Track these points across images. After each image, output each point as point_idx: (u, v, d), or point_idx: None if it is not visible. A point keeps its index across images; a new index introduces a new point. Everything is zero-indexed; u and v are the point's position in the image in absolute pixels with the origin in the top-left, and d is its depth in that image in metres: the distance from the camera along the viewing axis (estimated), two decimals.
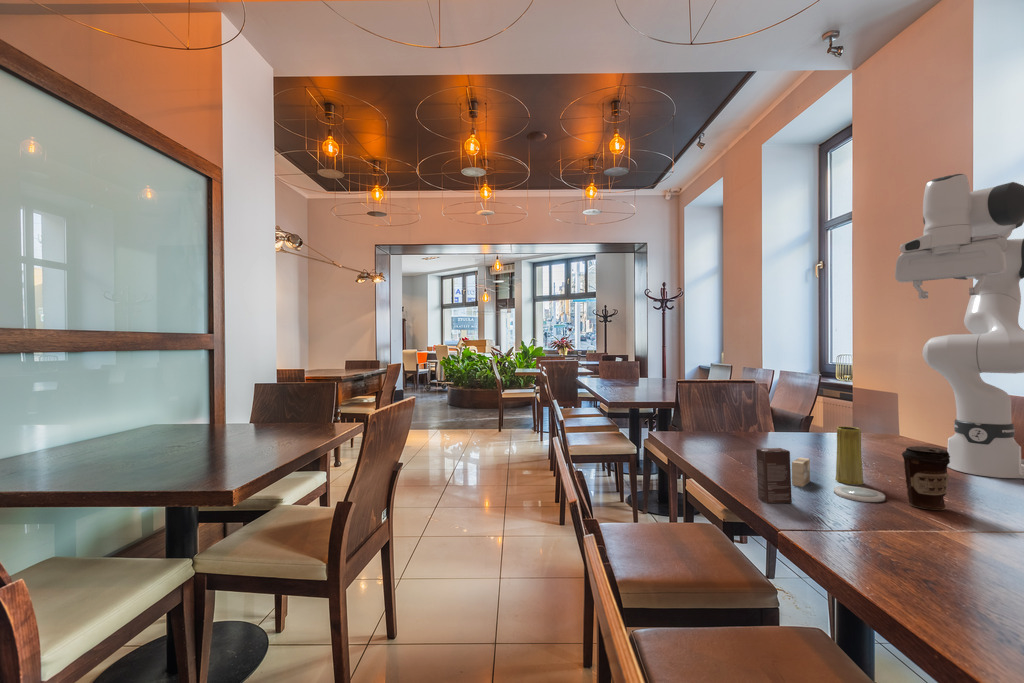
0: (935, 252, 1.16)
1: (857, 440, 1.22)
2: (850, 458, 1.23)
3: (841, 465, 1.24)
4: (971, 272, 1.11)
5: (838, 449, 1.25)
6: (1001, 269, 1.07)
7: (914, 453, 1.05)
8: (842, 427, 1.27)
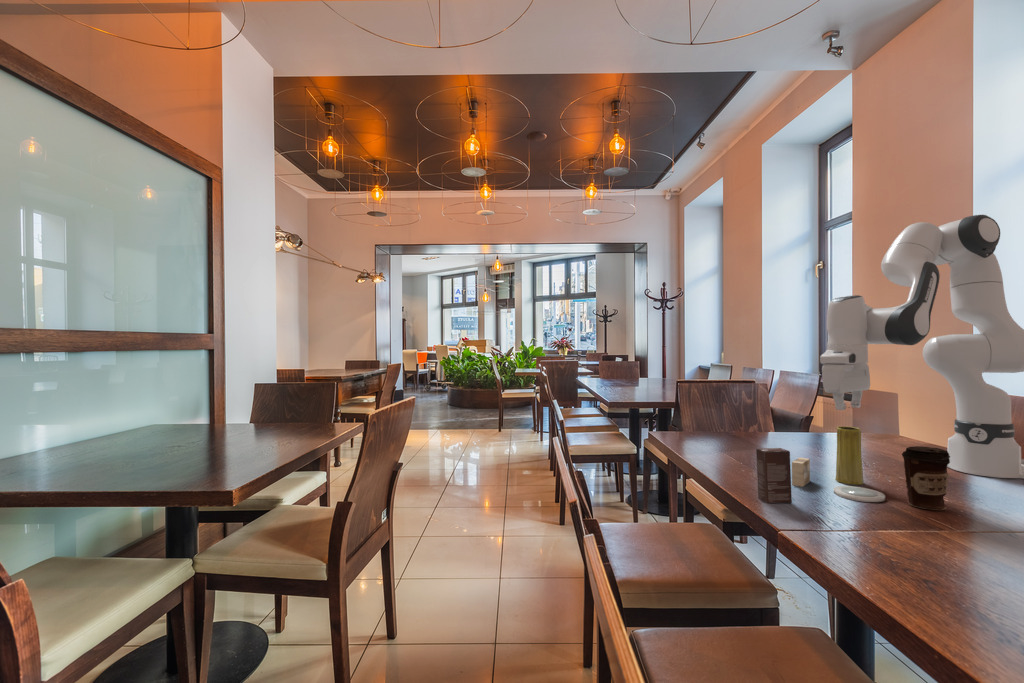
0: (856, 367, 1.22)
1: (857, 440, 1.22)
2: (850, 458, 1.23)
3: (841, 465, 1.24)
4: (862, 388, 1.26)
5: (838, 449, 1.25)
6: None
7: (914, 453, 1.05)
8: (842, 427, 1.27)
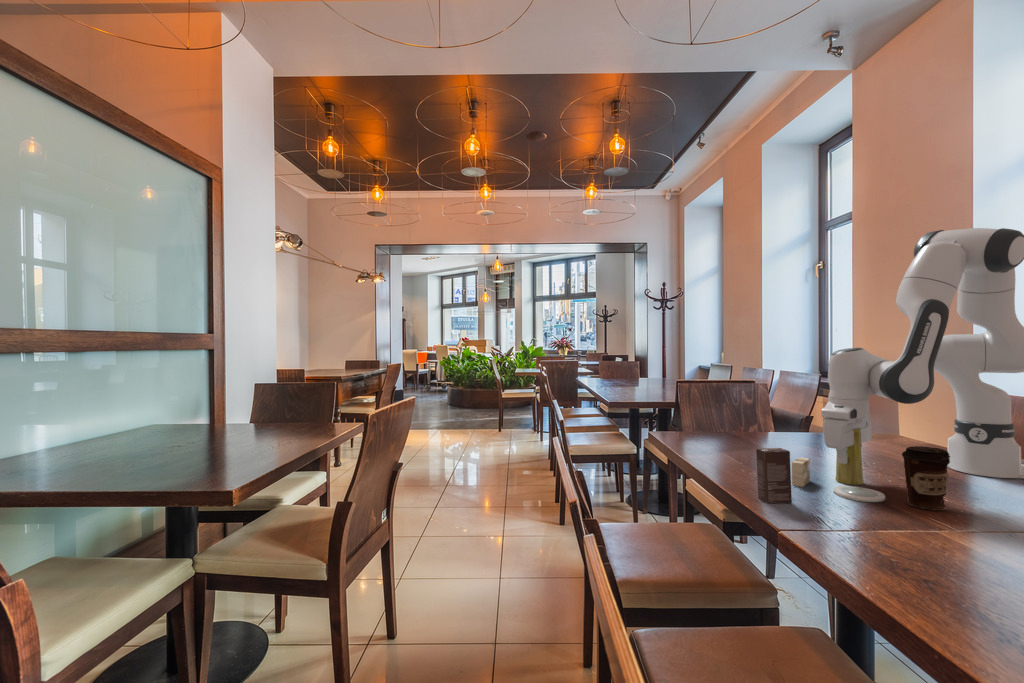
0: (858, 421, 1.22)
1: (857, 440, 1.22)
2: (850, 458, 1.23)
3: (841, 465, 1.24)
4: (863, 440, 1.26)
5: None
6: None
7: (914, 453, 1.05)
8: None
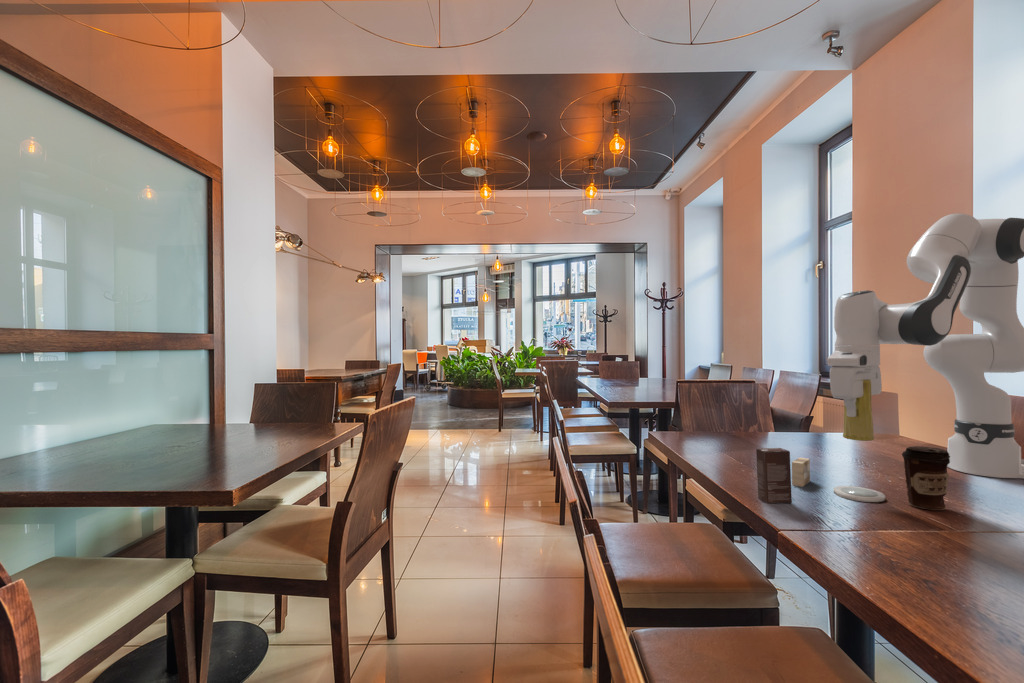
0: (867, 370, 1.11)
1: (867, 392, 1.11)
2: (859, 411, 1.12)
3: (849, 420, 1.13)
4: (873, 392, 1.15)
5: None
6: None
7: (914, 453, 1.05)
8: None
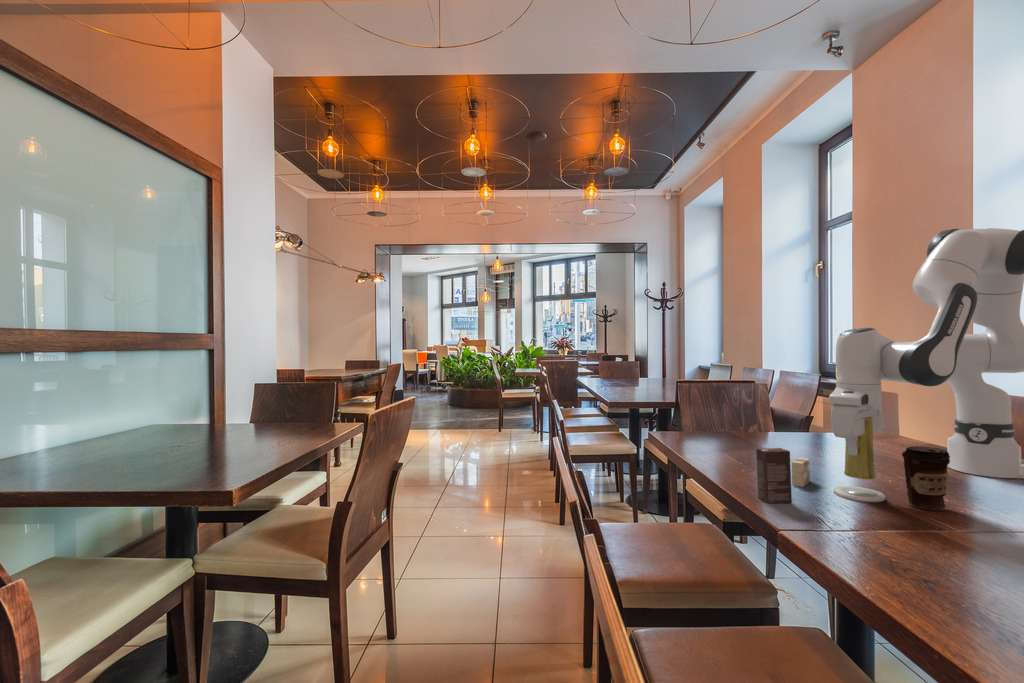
0: (869, 408, 1.11)
1: (868, 430, 1.11)
2: (861, 450, 1.11)
3: (850, 457, 1.13)
4: (875, 429, 1.15)
5: None
6: None
7: (914, 453, 1.05)
8: None
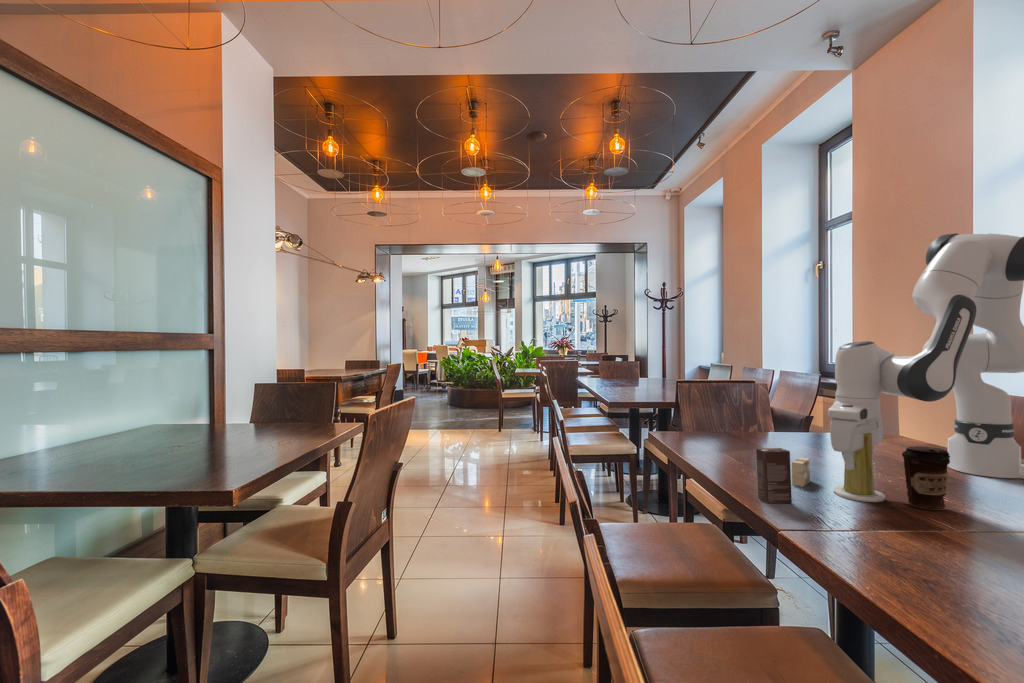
0: (868, 422, 1.11)
1: (868, 446, 1.11)
2: (860, 466, 1.12)
3: (849, 473, 1.13)
4: (874, 442, 1.15)
5: None
6: None
7: (914, 453, 1.05)
8: None
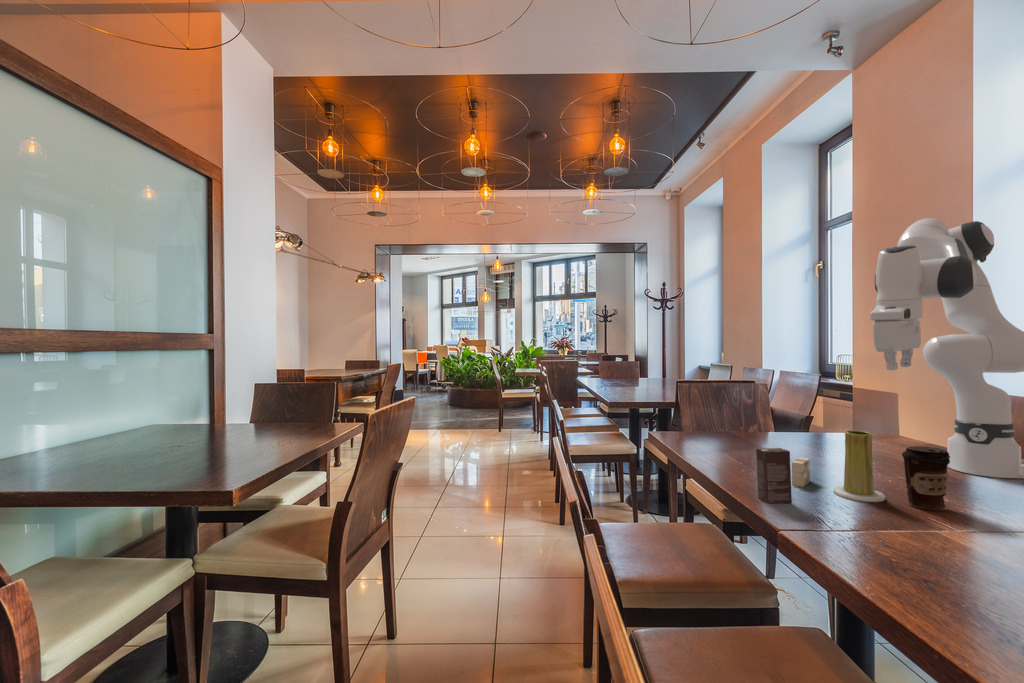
0: (910, 323, 1.13)
1: (868, 446, 1.11)
2: (860, 466, 1.12)
3: (849, 473, 1.13)
4: (914, 346, 1.17)
5: (846, 455, 1.14)
6: None
7: (914, 453, 1.05)
8: (851, 431, 1.16)
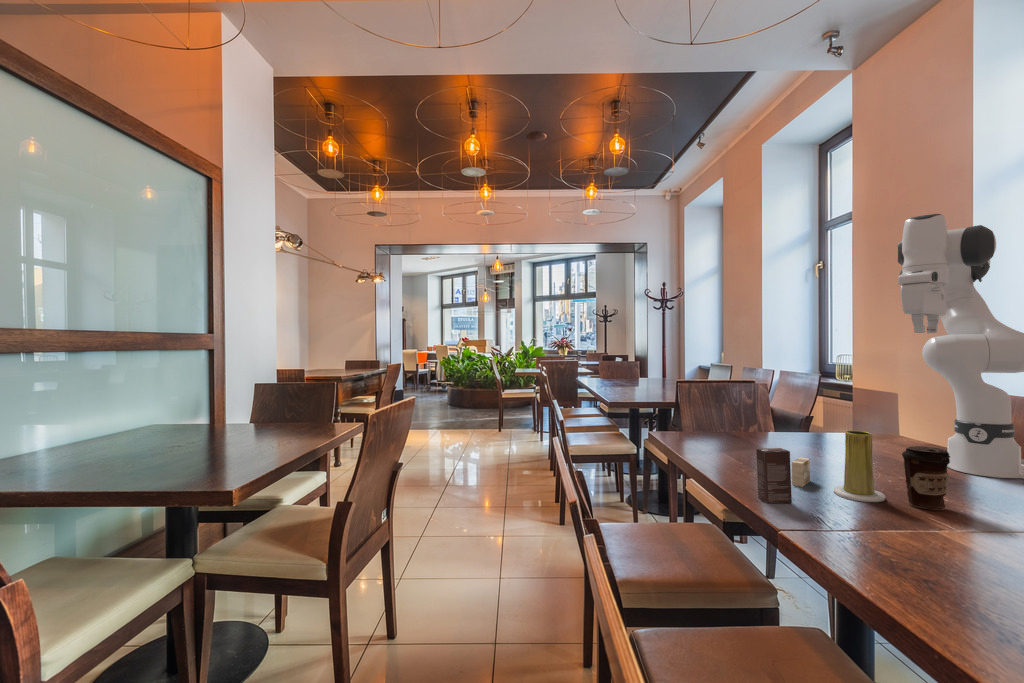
0: (937, 288, 1.16)
1: (868, 446, 1.11)
2: (860, 466, 1.12)
3: (849, 473, 1.13)
4: (940, 312, 1.20)
5: (847, 455, 1.14)
6: None
7: (914, 453, 1.05)
8: (851, 431, 1.16)
